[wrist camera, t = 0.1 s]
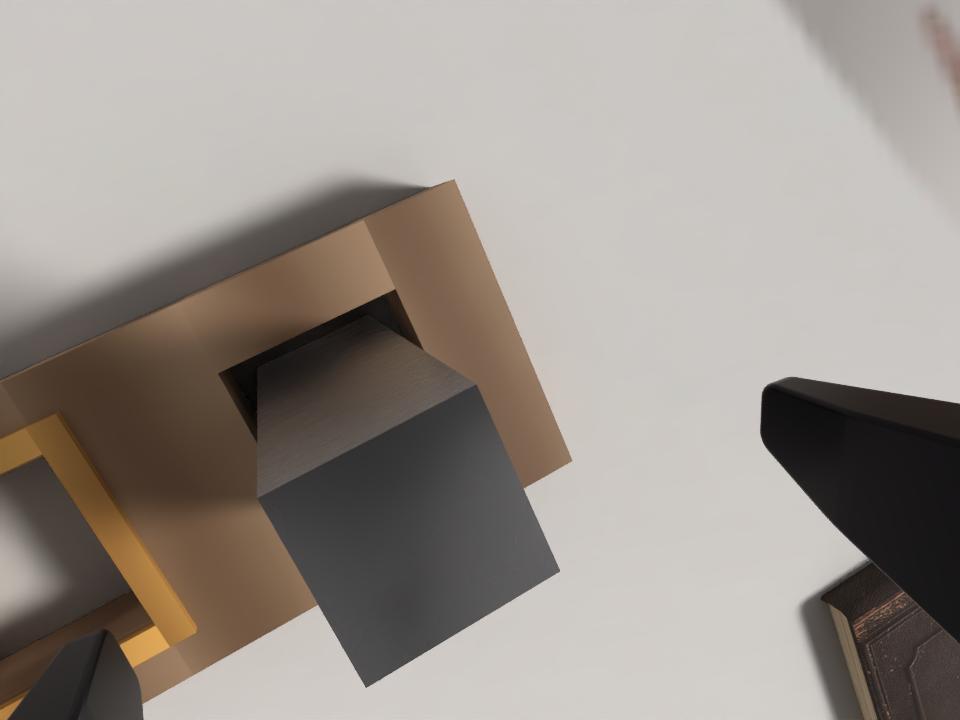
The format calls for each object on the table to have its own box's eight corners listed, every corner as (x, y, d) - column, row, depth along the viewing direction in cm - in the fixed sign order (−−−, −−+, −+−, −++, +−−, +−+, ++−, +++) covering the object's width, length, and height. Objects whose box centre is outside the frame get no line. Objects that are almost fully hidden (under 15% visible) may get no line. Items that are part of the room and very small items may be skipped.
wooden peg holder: (430, 187, 24) (456, 178, 20) (538, 437, 26) (576, 463, 23) (-279, 504, 19) (-384, 555, 16) (-61, 767, 22) (-114, 854, 19)
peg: (367, 315, 24) (476, 384, 12) (416, 416, 25) (560, 570, 13) (257, 367, 23) (257, 498, 11) (312, 470, 24) (365, 688, 12)
